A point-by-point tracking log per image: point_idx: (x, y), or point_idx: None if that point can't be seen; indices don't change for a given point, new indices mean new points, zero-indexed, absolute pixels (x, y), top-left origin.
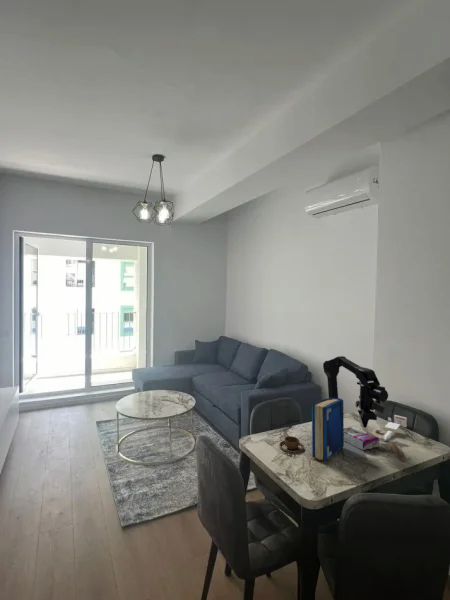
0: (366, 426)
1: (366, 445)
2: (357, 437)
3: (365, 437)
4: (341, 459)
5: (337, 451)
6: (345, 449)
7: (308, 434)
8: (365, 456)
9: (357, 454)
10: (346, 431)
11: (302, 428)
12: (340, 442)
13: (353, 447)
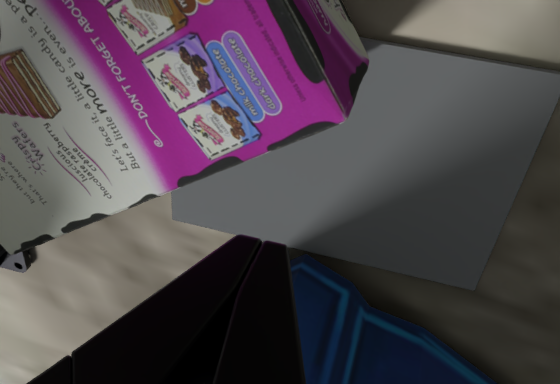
0: (288, 267)
1: (331, 20)
2: (218, 153)
3: (187, 20)
4: (551, 334)
5: (451, 358)
6: (339, 233)
7: None
8: (525, 78)
9: (463, 158)
10: (45, 208)
11: (11, 375)
12: (355, 354)
13: None
